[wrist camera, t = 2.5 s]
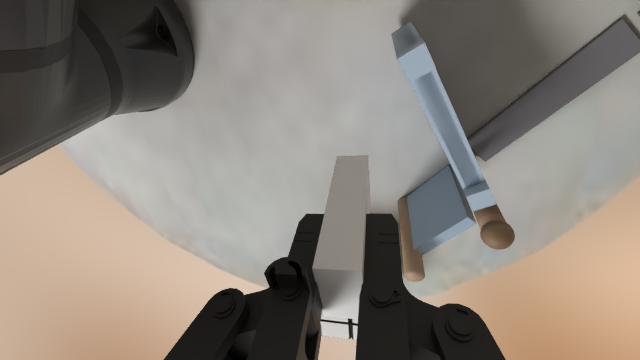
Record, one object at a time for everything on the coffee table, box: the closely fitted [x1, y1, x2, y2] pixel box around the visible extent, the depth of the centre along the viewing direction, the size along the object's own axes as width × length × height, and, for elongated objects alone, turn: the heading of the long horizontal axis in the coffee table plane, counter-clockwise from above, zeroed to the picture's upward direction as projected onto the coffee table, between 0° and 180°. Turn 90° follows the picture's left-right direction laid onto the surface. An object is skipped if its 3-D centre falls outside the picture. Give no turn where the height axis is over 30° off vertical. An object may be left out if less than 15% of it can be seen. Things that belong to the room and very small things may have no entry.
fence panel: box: [398, 165, 476, 282], centre depth 31 cm, size 2×8×12 cm, turn 145°
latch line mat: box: [467, 18, 640, 161], centre depth 27 cm, size 4×15×1 cm, turn 145°
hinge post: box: [473, 204, 515, 249], centre depth 27 cm, size 2×2×13 cm
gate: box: [392, 22, 496, 211], centre depth 24 cm, size 14×2×10 cm, turn 35°
